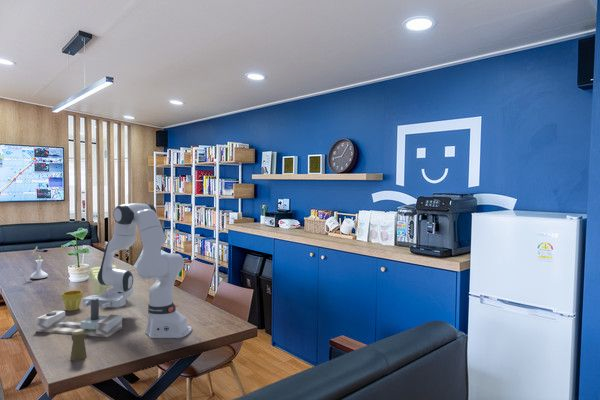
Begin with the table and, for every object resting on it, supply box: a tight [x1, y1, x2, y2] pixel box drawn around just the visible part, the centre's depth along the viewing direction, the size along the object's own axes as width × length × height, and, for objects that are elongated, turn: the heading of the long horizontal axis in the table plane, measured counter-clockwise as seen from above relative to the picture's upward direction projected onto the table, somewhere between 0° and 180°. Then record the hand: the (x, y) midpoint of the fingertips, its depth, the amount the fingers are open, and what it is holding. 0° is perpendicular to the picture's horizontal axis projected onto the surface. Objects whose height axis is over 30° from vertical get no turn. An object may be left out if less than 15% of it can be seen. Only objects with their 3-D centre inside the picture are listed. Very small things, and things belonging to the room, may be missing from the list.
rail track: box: [36, 310, 123, 338], centre depth 194 cm, size 38×12×7 cm, turn 83°
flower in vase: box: [29, 246, 49, 280], centre depth 293 cm, size 13×11×25 cm
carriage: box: [80, 298, 109, 330], centre depth 193 cm, size 8×10×14 cm
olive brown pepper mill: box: [70, 331, 88, 362], centre depth 164 cm, size 6×6×11 cm
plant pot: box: [61, 290, 83, 312], centre depth 225 cm, size 10×10×10 cm
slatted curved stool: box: [88, 264, 118, 295], centre depth 250 cm, size 30×16×18 cm, turn 43°
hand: (93, 305), depth 192 cm, fingers open, 8 cm apart
